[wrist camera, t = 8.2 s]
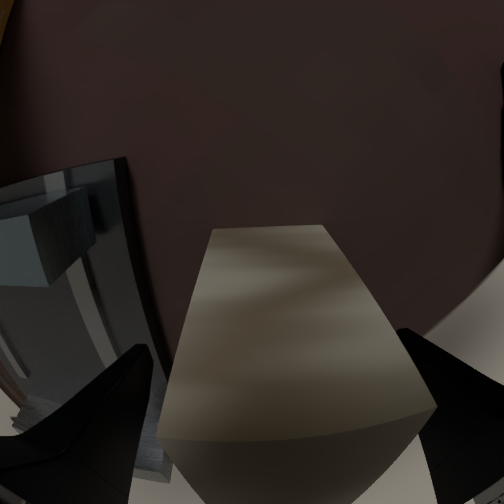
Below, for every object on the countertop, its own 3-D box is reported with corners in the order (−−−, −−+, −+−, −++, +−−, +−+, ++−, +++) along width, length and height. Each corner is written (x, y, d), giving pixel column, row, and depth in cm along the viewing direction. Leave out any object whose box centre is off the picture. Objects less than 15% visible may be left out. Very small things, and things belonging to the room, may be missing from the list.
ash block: (321, 224, 10) (437, 406, 3) (309, 360, 13) (341, 511, 6) (212, 229, 10) (155, 436, 3) (228, 365, 13) (221, 521, 6)
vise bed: (125, 156, 9) (50, 180, 5) (193, 428, 16) (186, 485, 12) (-49, 206, 9) (-97, 233, 5) (38, 398, 16) (18, 436, 12)
